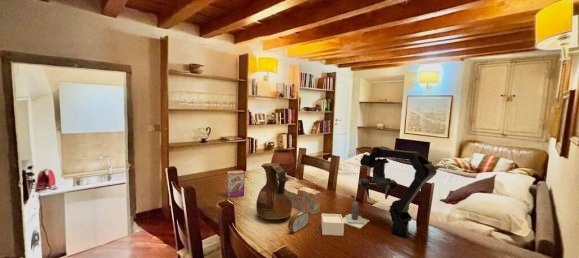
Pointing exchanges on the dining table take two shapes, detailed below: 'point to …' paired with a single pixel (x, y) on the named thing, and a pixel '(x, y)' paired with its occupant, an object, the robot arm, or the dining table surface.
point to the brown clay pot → (283, 159)
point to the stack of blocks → (305, 199)
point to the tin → (298, 221)
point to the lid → (354, 215)
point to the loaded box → (332, 224)
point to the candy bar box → (235, 183)
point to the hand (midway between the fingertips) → (377, 198)
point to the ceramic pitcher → (274, 194)
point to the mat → (356, 224)
